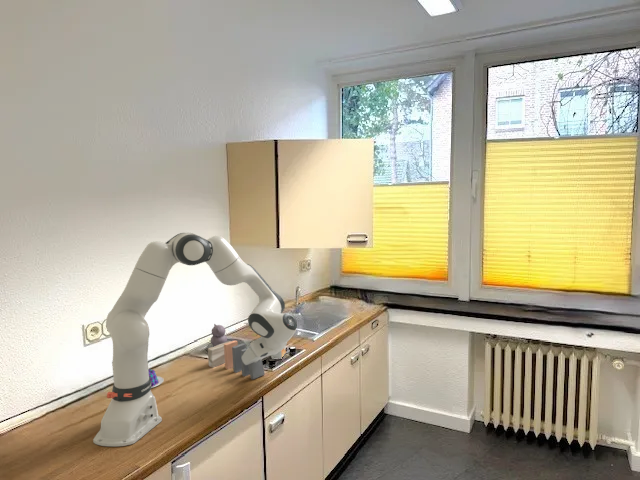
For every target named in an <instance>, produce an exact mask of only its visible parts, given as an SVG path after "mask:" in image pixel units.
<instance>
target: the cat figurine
mask: <svg viewBox="0 0 640 480" xmlns="http://www.w3.org/2000/svg"><path fill="white" fill-rule="evenodd" d="M225 334H226V328H225V327H224V326H223V325H220V324H216V323H214V326H212V329H211V335H212V336H211V337H210V343H211V345H212V347H213V346H217V345H220V344H222V343H225V342H228V338H227V336H226V335H225Z"/></svg>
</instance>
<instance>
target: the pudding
mask: <svg viewBox="0 0 640 480" xmlns="http://www.w3.org/2000/svg"><path fill="white" fill-rule="evenodd" d="M148 370H149V377H150V379H151V389H153V388H155V387H157V386H160V385H161V384H163V383H164V377H161V376H160V375H159V376H158V375H157V374H156V371H155V370H154V369H149V368H148Z"/></svg>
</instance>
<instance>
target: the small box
mask: <svg viewBox="0 0 640 480" xmlns="http://www.w3.org/2000/svg"><path fill="white" fill-rule="evenodd" d="M285 353H286V354H287V345H286V346H285V347H284V349H283V350H281V351H280V352H278V353H277V354H275V355H270V356H273V357H275V358H281V359H282V357H283V356H284V354H285ZM270 356H269V357H270ZM284 357H285V356H284ZM284 357H283V358H284ZM282 360H283V359H282Z"/></svg>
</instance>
